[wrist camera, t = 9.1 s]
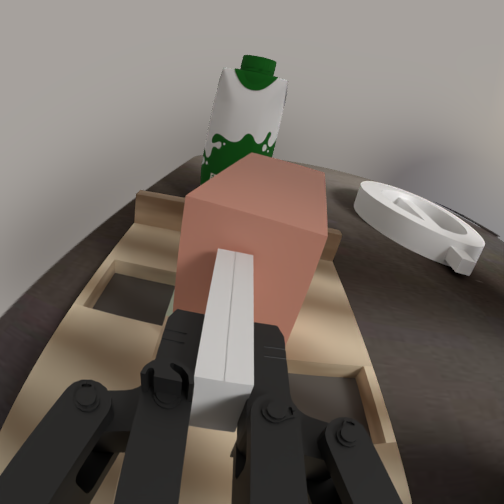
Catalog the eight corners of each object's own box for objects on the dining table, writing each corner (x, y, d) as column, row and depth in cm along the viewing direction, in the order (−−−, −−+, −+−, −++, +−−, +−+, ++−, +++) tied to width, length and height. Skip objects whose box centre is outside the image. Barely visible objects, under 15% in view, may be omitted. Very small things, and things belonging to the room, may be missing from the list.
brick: (230, 249, 28) (251, 152, 24) (294, 268, 28) (324, 172, 23) (170, 345, 17) (185, 195, 13) (271, 379, 16) (327, 236, 12)
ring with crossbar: (385, 199, 72) (391, 181, 70) (479, 253, 56) (488, 234, 54) (326, 205, 54) (333, 180, 51) (464, 288, 37) (478, 260, 35)
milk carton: (190, 208, 38) (221, 49, 29) (202, 187, 46) (228, 58, 37) (259, 222, 39) (298, 65, 30) (258, 198, 47) (289, 71, 38)
